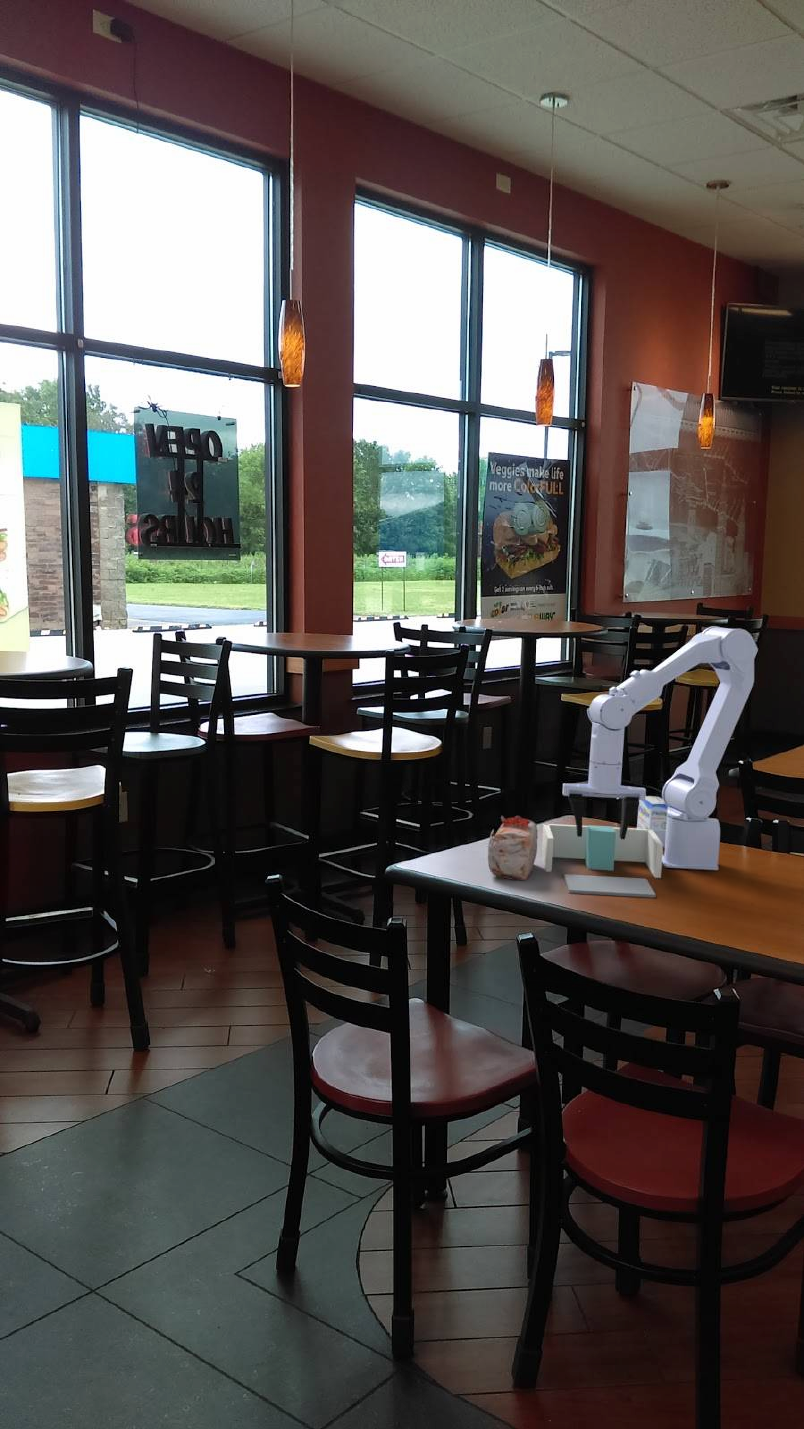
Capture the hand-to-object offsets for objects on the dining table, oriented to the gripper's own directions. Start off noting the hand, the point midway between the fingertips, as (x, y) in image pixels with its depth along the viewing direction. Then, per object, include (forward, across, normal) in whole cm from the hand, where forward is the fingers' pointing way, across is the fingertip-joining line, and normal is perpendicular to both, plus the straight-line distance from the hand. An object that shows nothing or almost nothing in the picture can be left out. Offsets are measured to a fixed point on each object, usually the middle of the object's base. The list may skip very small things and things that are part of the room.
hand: (600, 836), depth 203 cm
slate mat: (+5, 0, +14) cm, 15 cm away
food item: (+6, +16, +7) cm, 18 cm away
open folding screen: (+5, 0, 0) cm, 5 cm away
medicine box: (+6, -13, -22) cm, 26 cm away
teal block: (+6, 0, 0) cm, 6 cm away
